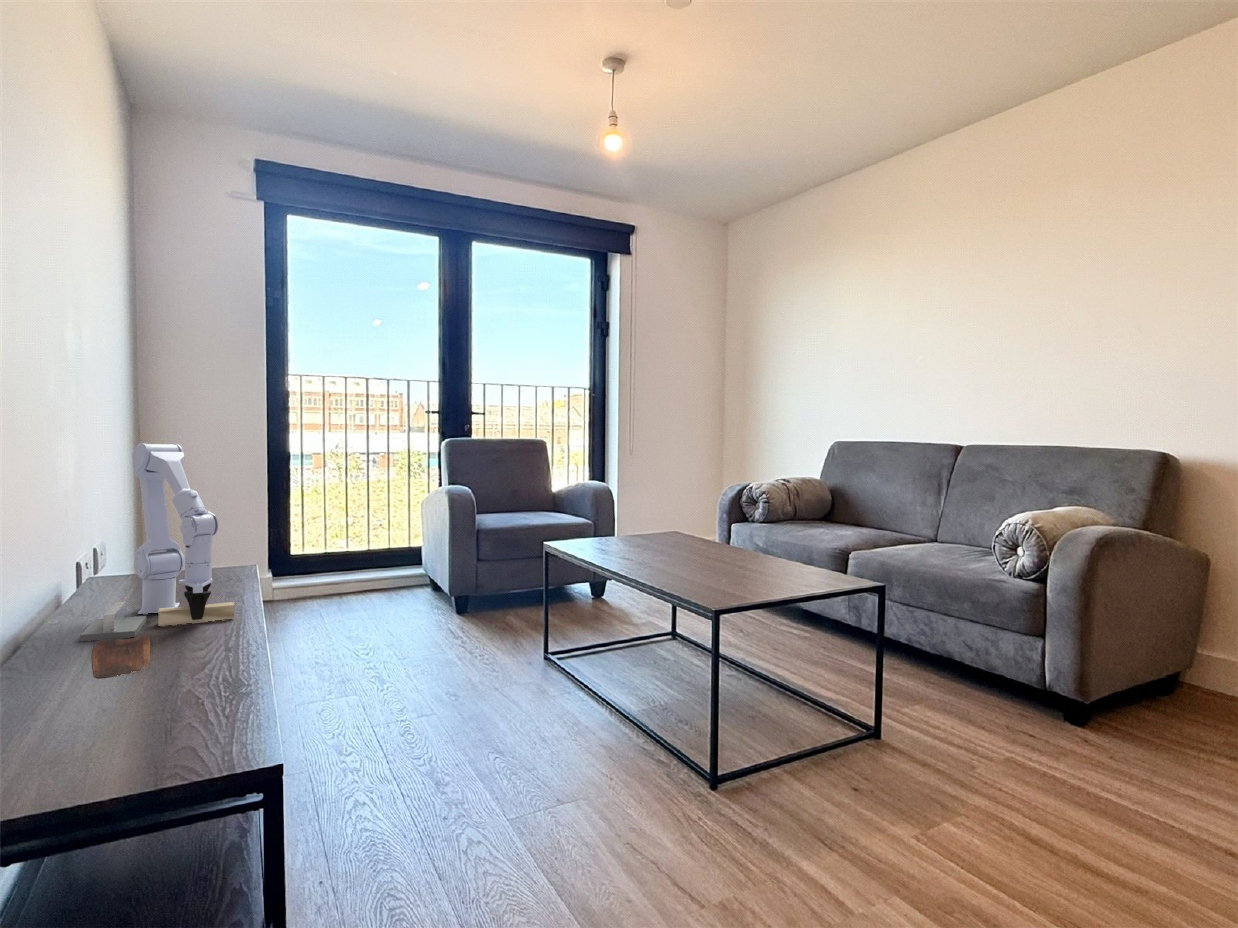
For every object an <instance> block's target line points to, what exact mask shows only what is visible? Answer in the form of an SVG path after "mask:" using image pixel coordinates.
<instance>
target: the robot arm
mask: <svg viewBox="0 0 1238 928" xmlns="http://www.w3.org/2000/svg"><path fill="white" fill-rule="evenodd" d="M131 454H132V455H131V457H132V465H133V467H132V468H133V471H134V473H133V474H134V476H135V477H137V478H139V485H140V495H141V502H142V510H143V511H142V512H143V519H144V520H143V522H144V530H145V537H146V539H145V540H146V541H145V542H144V543H143V544H141V545H140V546H139V547H138V548H137V549H136V550H135V553H134V555H135V557H134V562H133V563H134V564H133V568H134V571H135V573H136V576H138V577H139V578H140V579H142V595H141V596H142V597H141V598H142V599H141V601H142V603H141V608H140V610H139V611H137V615H138V614H143V615H149V614H148V613H158V614H159V609H160V608H171V607H180V602H176V592H177V591H176V588H177V577H179V576H180V573H181V572H182V571H183V569H184V579H179V580H178V584H180V585H182V584H183V585H184V588H185V590H186V591H184V592H183V595H184V597H185V599H186V601H187V603H188V606H189V607H190V613H191V618H192V620H199V619H202V618H203V615H204V610H205V605H206V604H207V602H208V600H209V598H210V596H211V594H212V591H211V590H209V589H210V587H211V586H212V583H213V578H212V575H213V574H212V573H213V572H212V570H213V564H212V563H213V536H215V535H216V534H217V532H218V530H219V522H218V519H217V516H216V515H215V514H214V513H212V512H211V510H208V509H206V507H205V504H204V502H203V501H202V499H201V496H200V494H199V493H198V491H196V490H195V489H191V487H190V483H189V482H188V478H187V476H186V473H185V469H184V467H183V466H184V461H185V452H184V449H183V448H182V446H181V445H180V444H179V443H173V444H171V443H166V444H164V443H144V442H142V443H141V442H140V443H138V444H137V445H136V447H134V450H133V452H132V453H131ZM165 480H166V482H167V483H168V485H169V486H170V488H171V490H172V491H173V493H174V496H173V498H172V503H173V505H174V507H175V509H176V511H177V513H178V514H179V515H178V516H179V517H180V519H181V524H180V527H179V528H180V533H181V535H182V542H183V545H185V546H184V547H185V549H184V551H185V552H184V554H183V552H182V548H181V544H179V543H178V542H176V541H175V540H172V539H171V538H170V537H171V535H170V527H169V519H168V510H167V502H166V493H165V484H164V483H165V482H164V481H165Z"/></svg>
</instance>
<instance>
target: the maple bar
mask: <svg viewBox="0 0 1238 928" xmlns="http://www.w3.org/2000/svg"><path fill="white" fill-rule="evenodd" d="M235 610H236V609H235V601H234V602H232V601H229V602H220V603H219V602H218V603H209V604H207V603H206V605H205V610H204V615H203V618H202V619H199V620H192V618H191V613H190V607H189V605H185V606H178V607H171V608H160V609H159V613H158V623H157V624H158V625H157V627H158V626H162V627H166V626H165V625H172V626H178V625H177V624H182V625H187V624H186V623H192V624H199V623H209V622H208V621H212V622H216V621H215V620H222V621H224V620H223V619H232V620H235Z"/></svg>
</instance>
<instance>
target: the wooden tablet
mask: <svg viewBox="0 0 1238 928" xmlns="http://www.w3.org/2000/svg"><path fill="white" fill-rule="evenodd" d="M92 649H93V650H92V654H91V655H92V656H91V657H92V659H91V660H92V663H91V664H92V672H93V675H94V677H95V678H98V679H100V678H101V679H102V678H111V677H113V678H114V677H115V678H116V677H121V676H120V675H121V674H126V675H131V674H130V673H131V671H132V672H133V671H140V670H141V668H142V667H147V664H149V661H150V662H151V640H150V636H148V635H139V636H136V637H134V638H126V639H123V638H121V639H107V640H97V641H96V642H95V644H94V645H93V648H92ZM142 670H143V669H142ZM117 675H118V676H117Z"/></svg>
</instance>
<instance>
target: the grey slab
mask: <svg viewBox="0 0 1238 928" xmlns="http://www.w3.org/2000/svg"><path fill="white" fill-rule="evenodd" d="M145 622H146V623H147V615H138V616H137V615H135V616H126V618H125V620H124V621H123V622H122V623H121V624H120V626H119V627H118V628H117V629H116V630H115V631H114V632H106V633H103V618H96V619H94V621H92V623H91V624H89V625H88V626H87V628H86V629H85V630H83V632H82V633H81V634H80V635H79V642H80V641H82V642H92V641H93V640H95V641H101V640H107V639H131V638H130V637H134V638H135V636H136V637H137V635H138V634H139V633H140V631H141V630H142V628H143V627H144V626H145V624H146V623H145ZM144 623H145V624H144ZM143 625H144V626H143ZM142 626H143V627H142ZM141 627H142V628H141ZM140 629H141V630H140ZM139 630H140V631H139ZM138 632H139V633H138ZM137 633H138V634H137ZM91 640H92V641H91Z"/></svg>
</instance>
